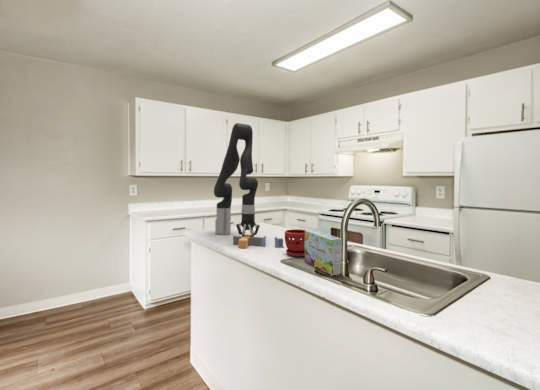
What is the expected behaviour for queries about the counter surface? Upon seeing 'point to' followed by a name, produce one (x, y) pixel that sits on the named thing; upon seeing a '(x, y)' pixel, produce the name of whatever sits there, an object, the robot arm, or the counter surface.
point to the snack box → (323, 251)
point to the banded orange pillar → (244, 241)
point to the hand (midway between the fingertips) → (247, 241)
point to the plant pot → (295, 242)
